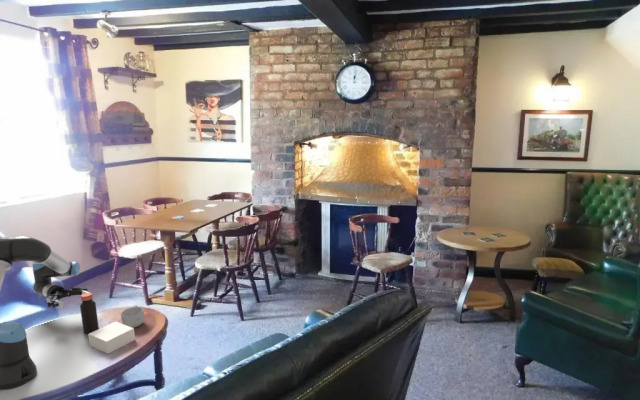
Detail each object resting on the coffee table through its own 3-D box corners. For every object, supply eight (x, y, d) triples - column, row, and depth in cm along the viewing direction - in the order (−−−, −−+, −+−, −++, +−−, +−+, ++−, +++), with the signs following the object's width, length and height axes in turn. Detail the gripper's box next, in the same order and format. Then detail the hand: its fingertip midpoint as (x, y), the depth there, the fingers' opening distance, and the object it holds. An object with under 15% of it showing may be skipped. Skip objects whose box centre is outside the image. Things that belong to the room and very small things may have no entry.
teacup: (139, 330, 215) (138, 315, 214) (118, 330, 216) (116, 315, 214) (150, 317, 229) (149, 303, 228) (130, 317, 229) (128, 303, 228)
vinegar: (96, 327, 219) (91, 290, 215) (101, 331, 215) (96, 294, 211) (81, 332, 214) (76, 294, 211) (86, 337, 210) (81, 298, 206)
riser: (108, 353, 195) (106, 341, 193) (89, 345, 202) (88, 333, 201) (135, 339, 206) (133, 328, 205) (117, 332, 213) (115, 321, 212)
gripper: (78, 290, 239) (101, 298, 228) (29, 307, 218) (52, 317, 207) (76, 277, 237) (99, 284, 227) (27, 293, 217) (50, 303, 206)
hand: (76, 300), depth 217 cm, fingers open, 13 cm apart
